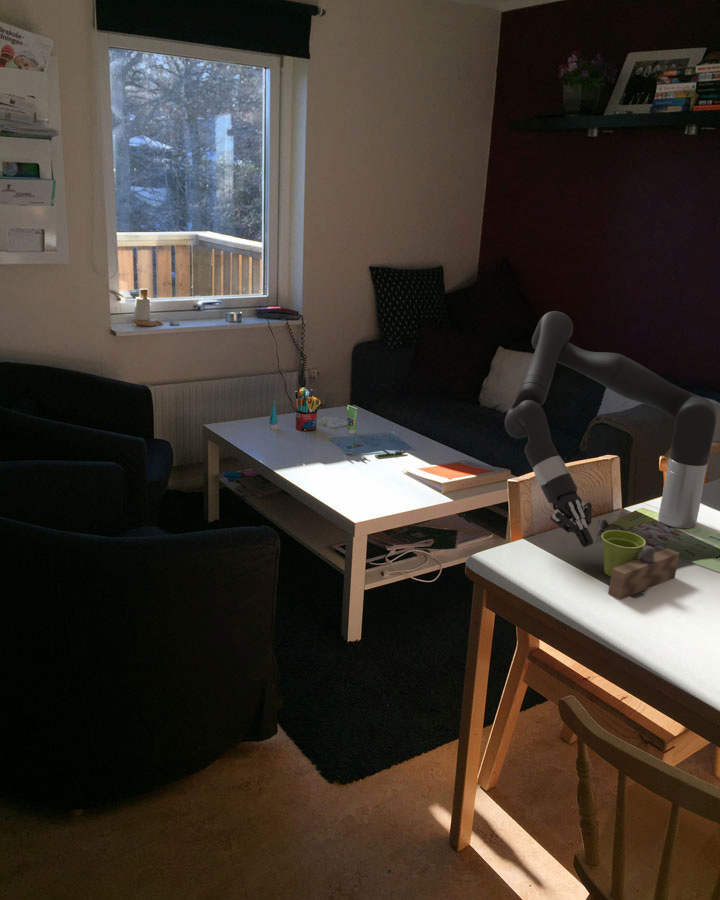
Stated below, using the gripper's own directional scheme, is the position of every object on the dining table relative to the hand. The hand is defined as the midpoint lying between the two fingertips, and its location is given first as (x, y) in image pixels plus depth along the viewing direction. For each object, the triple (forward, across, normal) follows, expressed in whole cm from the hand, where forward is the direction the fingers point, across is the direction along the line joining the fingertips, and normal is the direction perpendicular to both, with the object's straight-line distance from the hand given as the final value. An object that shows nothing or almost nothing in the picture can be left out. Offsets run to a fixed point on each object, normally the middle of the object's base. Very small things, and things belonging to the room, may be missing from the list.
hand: (588, 545), depth 185 cm
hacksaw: (+2, -15, -5) cm, 16 cm away
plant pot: (+9, 0, +3) cm, 9 cm away
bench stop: (+13, 0, +8) cm, 15 cm away
